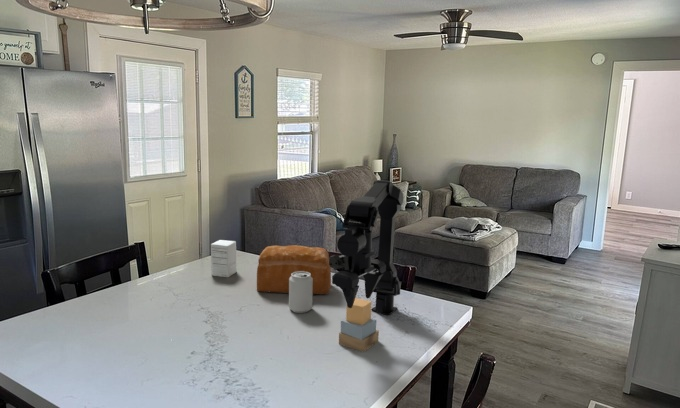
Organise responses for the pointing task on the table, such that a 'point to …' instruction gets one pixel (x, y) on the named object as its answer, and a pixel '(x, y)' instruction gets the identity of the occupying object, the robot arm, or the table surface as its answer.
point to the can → (300, 291)
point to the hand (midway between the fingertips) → (359, 302)
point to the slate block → (358, 328)
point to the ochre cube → (359, 311)
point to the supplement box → (223, 258)
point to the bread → (293, 268)
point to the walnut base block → (358, 341)
